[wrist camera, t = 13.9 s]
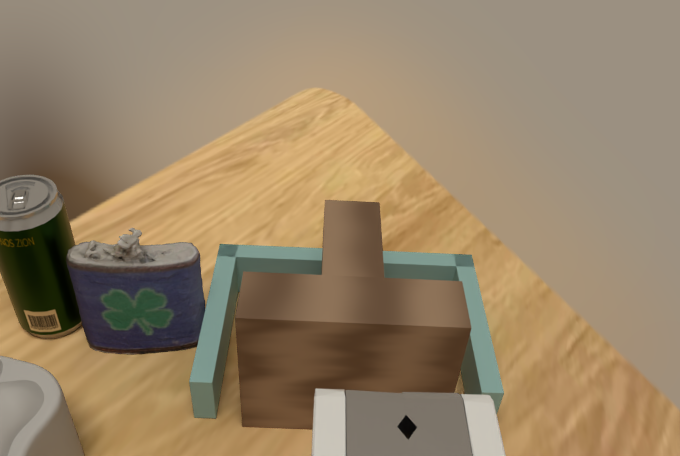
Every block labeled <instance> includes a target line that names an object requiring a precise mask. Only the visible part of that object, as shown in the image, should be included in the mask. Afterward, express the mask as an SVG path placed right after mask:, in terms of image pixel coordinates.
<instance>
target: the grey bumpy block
mask: <svg viewBox="0 0 680 456" xmlns="http://www.w3.org/2000/svg"><path fill="white" fill-rule="evenodd" d="M0 456H84V452H83V449H82V446H81V443H80V440H79V437H78V435H77V432H76V429H75V426H74V423H73V420H72V417H71V414H70V412H69V409H68V406H67V403H66V400H65V397H64V394H63V392H62V389H61V387H60V385H59V383H58V381H57V380H56V379H55V377H54V376H53V375H52V374H51V373H50V372H48V371H47V370H45V369H44V368H42V367H40V366H37V365H35V364H32V363H28V362H24V361H20V360H16V359H13V358H9V357H4V356H0Z"/></svg>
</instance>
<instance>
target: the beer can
mask: <svg viewBox="0 0 680 456" xmlns="http://www.w3.org/2000/svg"><path fill="white" fill-rule="evenodd" d="M73 246H75V242H74V238H73V234H72V230H71V226H70V223H69V219H68V215H67V212H66V208H65V204H64V200H63V196H62V195H61V194H60V193H59V192H58V191H57V188H56V185H55V184H54V183H53V182H52V181H51V180H50V179H47V178H45V177H43V176H37V175H20V176H14V177H9V178H7V179H4V180H1V181H0V273H1V275H2V278H3V281H4V283H5V286H6V289H7V291H8V294H9V297H10V299H11V302H12V305H13V307H14V310H15V313H16V315H17V318H18V321H19V323H20V324H21V326H22V327H23V329H25V330H26V331H28V332H29V333H31V334H33V335H34V336H36V337H40V338H45V339H47V338H58V337H62V336H65V335H67V334H69V333H71V332H73V331H75V330H76V329H78V328H79V327H80V326H81V325H82V321H81V316H80V313H79V307H78V303H77V300H76V295H75V292H74V288H73V284H72V281H71V277H70V273H69V270H68V267H67V261H66V256H67V254H68V250H69V249H70V248H72V247H73Z"/></svg>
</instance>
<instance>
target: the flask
mask: <svg viewBox="0 0 680 456" xmlns="http://www.w3.org/2000/svg"><path fill="white" fill-rule="evenodd" d="M129 231H131V232H133V234H132V235H127V234H123V235H122V236H119V238H120V240H119V241H118V244H115V245H109V244H105V243H99V242H96V241H91V242H83V243H80V244H79V245H75V246H73V247H72V248H70V249H69V250H68V254H67V256H66V261H67V267H68V270H69V273H70V277H71V281H72V284H73V288H74V292H75V295H76V300H77V303H78V307H79V313H80V316H81V321H82V326H83V328H84V332H85V334H86V337H87V341H88V343H89V346H90V348H92V349H94V350H95V351H101V352H105V353H107V352H108V353H118V354H122V353H123V354H138V353H139V354H142V353H143V354H144V353H148V352H151V353H156V352H164V351H165V352H168V351H175V350H176V351H177V350H185V349H189V348H192V347H195V346H197V345H198V341H199V336H200V332H201V327H202V323H203V318H204V314H205V300H204V295H203V288H202V278H201V267H200V254H199V251H198V249H197V248H196V247H195V246H194V245H193V244H192V243H186V242H179V243H173V244H163V245H145V246H140V245H139V239H138V237H139V236H141V234H142V232H141V231H140V230H135V229H134V228H131V229H129Z"/></svg>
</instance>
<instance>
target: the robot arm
mask: <svg viewBox="0 0 680 456" xmlns="http://www.w3.org/2000/svg"><path fill="white" fill-rule="evenodd" d="M311 456H506V455H505V451H504V446H503V442H502V437H501V433H500V428H499V424H498V419H497V415H496V410H495V406H494V401H493V400H492V398H491V396H490V395H483V394H459V393H432V392H402V393H394V392H376V391H358V390H344V389H317V388H316V389H315V395H314V412H313V432H312V453H311Z"/></svg>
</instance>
